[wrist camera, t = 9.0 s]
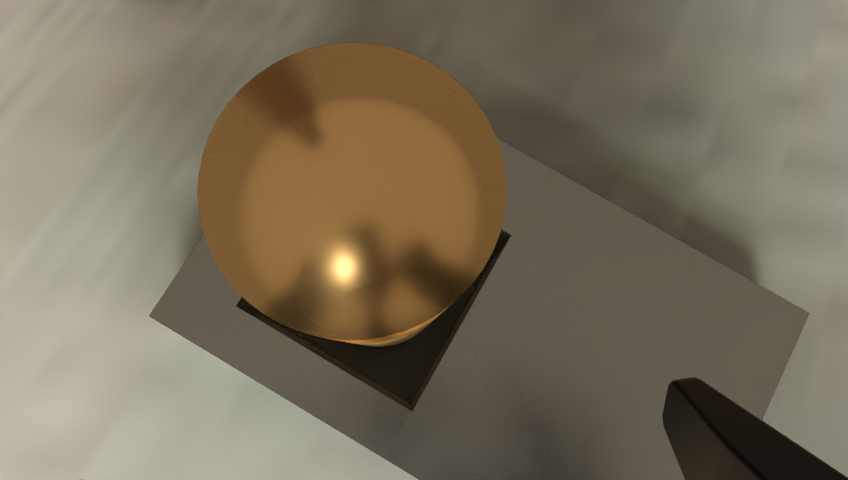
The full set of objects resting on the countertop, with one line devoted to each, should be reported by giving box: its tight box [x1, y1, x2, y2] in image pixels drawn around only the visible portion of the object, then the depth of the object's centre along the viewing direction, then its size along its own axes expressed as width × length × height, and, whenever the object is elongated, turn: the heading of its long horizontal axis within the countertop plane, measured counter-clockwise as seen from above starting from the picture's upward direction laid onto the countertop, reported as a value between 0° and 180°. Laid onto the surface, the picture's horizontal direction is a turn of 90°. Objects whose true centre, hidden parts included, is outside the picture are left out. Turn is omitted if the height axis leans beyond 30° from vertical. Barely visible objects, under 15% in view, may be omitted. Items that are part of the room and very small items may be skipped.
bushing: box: [198, 43, 507, 347], centre depth 14 cm, size 4×4×12 cm
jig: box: [149, 138, 809, 480], centre depth 19 cm, size 17×10×2 cm, turn 60°
